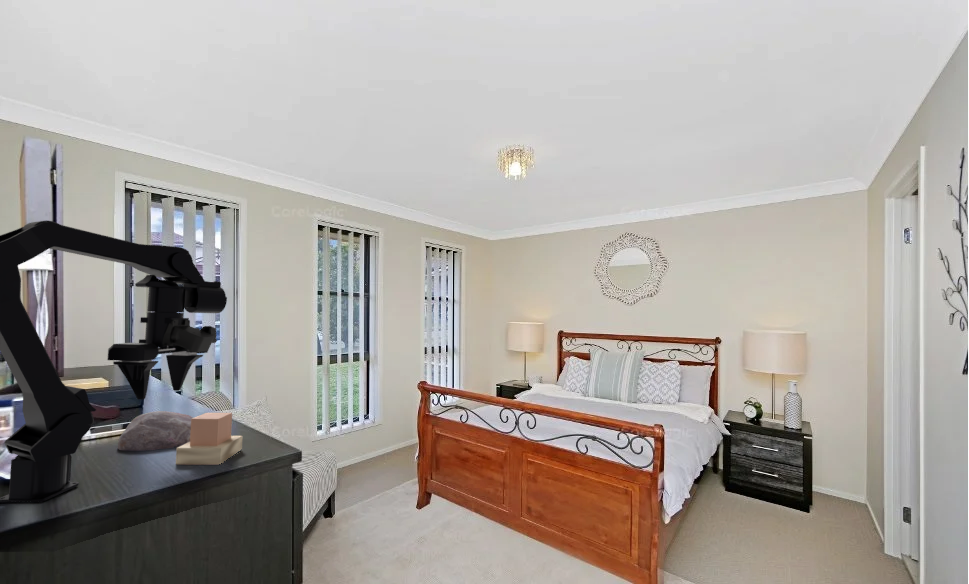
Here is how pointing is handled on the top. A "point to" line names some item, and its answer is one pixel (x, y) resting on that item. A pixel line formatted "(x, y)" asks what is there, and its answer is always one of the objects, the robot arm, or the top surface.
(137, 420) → the stone
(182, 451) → the base
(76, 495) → the top surface
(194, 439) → the block
